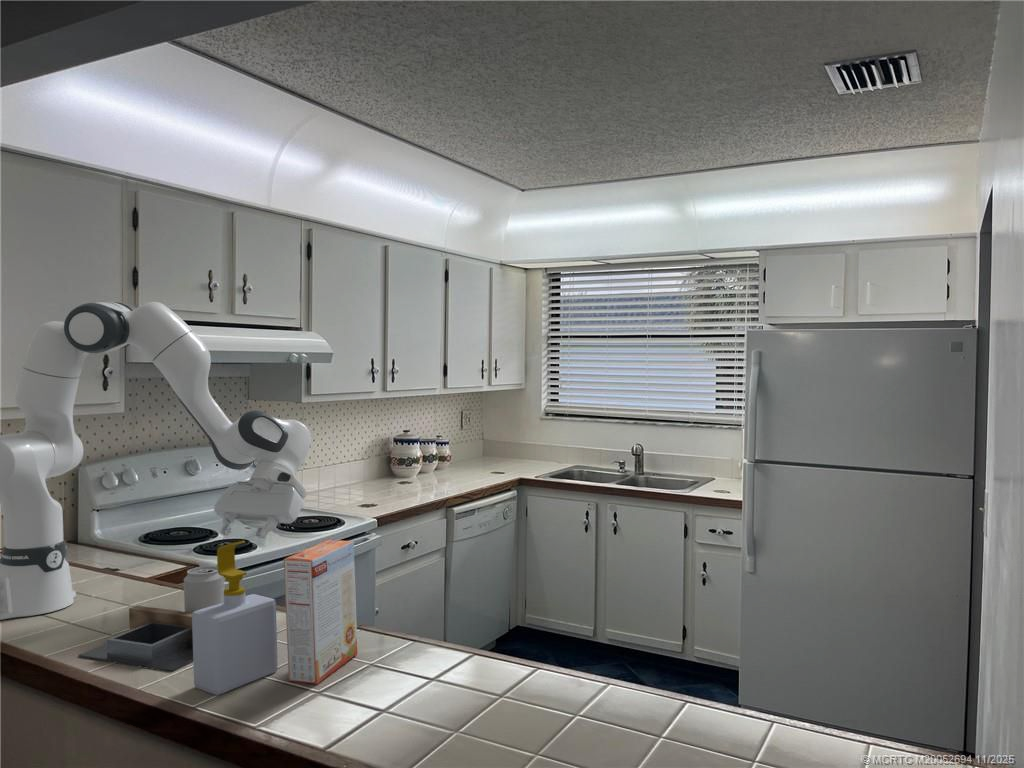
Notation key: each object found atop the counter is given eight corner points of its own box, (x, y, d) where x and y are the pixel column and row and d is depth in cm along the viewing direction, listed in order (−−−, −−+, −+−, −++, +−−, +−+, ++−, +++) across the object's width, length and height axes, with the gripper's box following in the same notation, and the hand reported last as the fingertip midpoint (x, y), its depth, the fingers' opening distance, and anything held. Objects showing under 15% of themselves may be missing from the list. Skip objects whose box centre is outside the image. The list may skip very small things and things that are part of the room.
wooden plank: (129, 633, 156) (129, 608, 156) (137, 630, 158) (137, 605, 157) (227, 647, 147) (226, 621, 147) (234, 643, 149) (233, 617, 149)
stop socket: (78, 656, 144) (77, 638, 144) (131, 635, 155) (131, 617, 155) (172, 672, 136) (171, 652, 136) (221, 647, 147) (220, 629, 147)
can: (216, 634, 155) (214, 573, 154) (178, 634, 155) (176, 574, 154) (230, 621, 162) (229, 563, 162) (194, 622, 162) (193, 564, 162)
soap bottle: (216, 697, 125) (212, 551, 124) (192, 687, 129) (188, 546, 128) (279, 671, 135) (275, 536, 134) (255, 663, 139) (251, 532, 138)
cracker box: (329, 651, 144) (326, 538, 143) (358, 655, 142) (356, 540, 142) (285, 682, 131) (282, 557, 130) (316, 686, 129) (313, 559, 128)
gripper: (225, 473, 179) (195, 524, 170) (301, 476, 172) (273, 530, 163) (239, 489, 183) (211, 540, 175) (313, 493, 176) (287, 546, 167)
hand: (241, 535), depth 169 cm, fingers open, 8 cm apart
